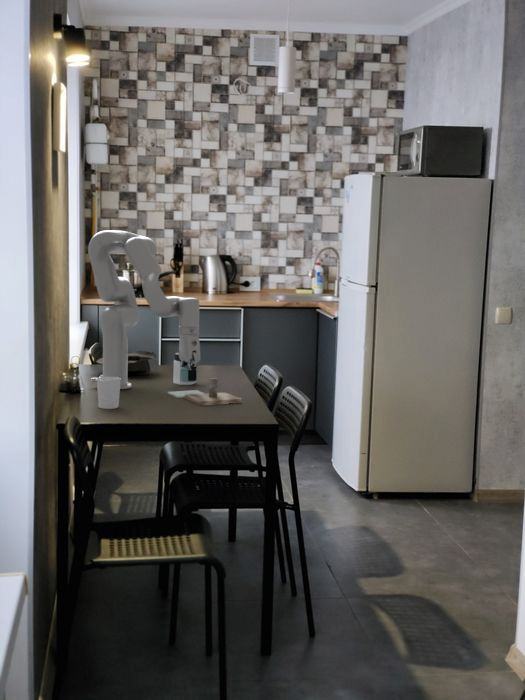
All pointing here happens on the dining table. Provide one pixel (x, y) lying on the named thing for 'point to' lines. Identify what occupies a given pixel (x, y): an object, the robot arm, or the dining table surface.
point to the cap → (184, 374)
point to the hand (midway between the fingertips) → (188, 378)
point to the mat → (184, 393)
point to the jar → (177, 372)
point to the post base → (212, 400)
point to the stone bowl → (138, 362)
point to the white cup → (108, 392)
